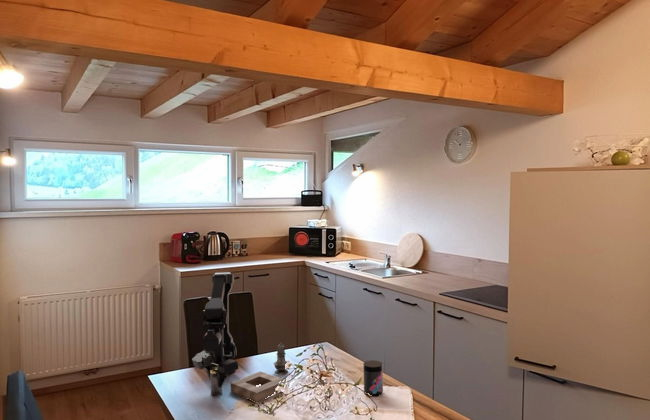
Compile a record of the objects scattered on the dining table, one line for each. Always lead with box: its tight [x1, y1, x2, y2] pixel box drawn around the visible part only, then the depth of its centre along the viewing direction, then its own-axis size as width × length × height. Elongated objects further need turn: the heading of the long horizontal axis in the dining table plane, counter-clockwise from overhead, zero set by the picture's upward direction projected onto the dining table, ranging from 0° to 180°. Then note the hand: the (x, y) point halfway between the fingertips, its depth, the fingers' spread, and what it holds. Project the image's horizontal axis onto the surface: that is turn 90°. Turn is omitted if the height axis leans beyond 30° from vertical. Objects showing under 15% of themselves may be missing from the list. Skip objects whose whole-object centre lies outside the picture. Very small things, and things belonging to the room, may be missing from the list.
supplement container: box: [363, 359, 384, 397], centre depth 168 cm, size 7×7×10 cm
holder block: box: [230, 371, 283, 403], centre depth 171 cm, size 14×14×4 cm
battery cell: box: [209, 367, 223, 397], centre depth 169 cm, size 4×4×9 cm
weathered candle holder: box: [273, 342, 289, 376], centre depth 189 cm, size 6×6×12 cm
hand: (216, 385), depth 169 cm, fingers closed on battery cell, 4 cm apart
